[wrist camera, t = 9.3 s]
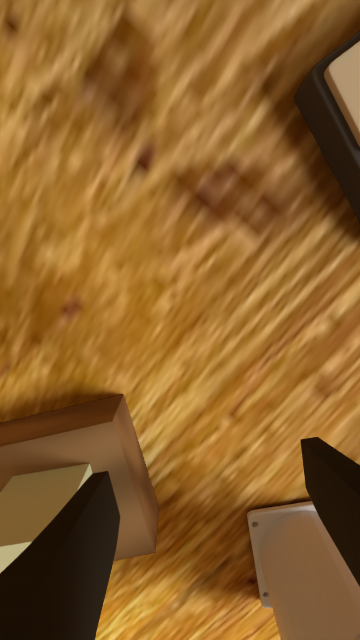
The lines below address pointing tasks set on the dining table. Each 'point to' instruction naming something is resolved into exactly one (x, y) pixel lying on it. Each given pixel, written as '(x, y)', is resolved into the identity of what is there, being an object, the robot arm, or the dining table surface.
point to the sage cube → (34, 506)
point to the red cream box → (336, 114)
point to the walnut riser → (89, 460)
